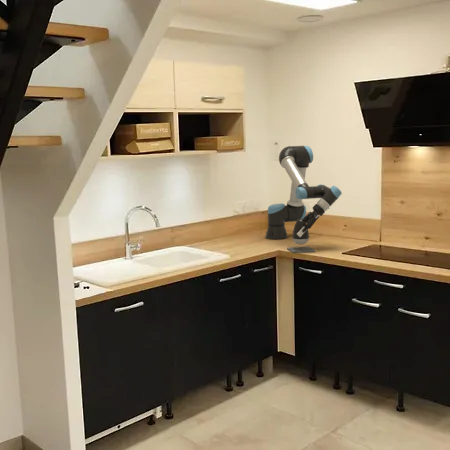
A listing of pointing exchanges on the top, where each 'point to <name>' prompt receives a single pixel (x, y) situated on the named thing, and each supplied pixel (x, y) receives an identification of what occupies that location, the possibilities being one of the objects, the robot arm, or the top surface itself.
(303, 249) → the charcoal mat
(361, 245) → the top surface
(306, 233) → the pump dispenser
